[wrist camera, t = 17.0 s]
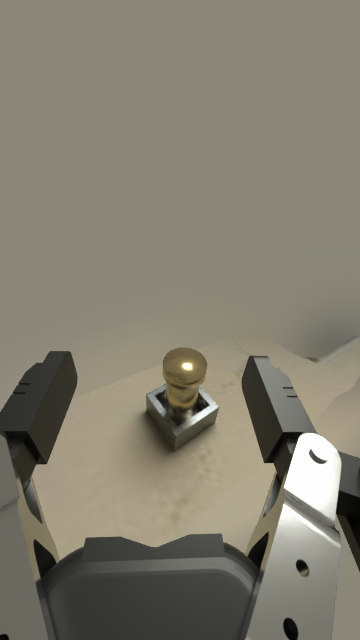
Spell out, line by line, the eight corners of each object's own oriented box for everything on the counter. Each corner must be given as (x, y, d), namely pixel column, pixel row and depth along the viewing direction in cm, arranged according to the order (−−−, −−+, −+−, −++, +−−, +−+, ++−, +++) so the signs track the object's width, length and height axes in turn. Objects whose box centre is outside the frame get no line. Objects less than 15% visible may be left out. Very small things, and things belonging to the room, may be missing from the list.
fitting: (176, 439, 38) (180, 388, 30) (155, 410, 42) (154, 358, 34) (205, 419, 41) (216, 367, 33) (183, 393, 45) (188, 342, 37)
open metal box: (174, 451, 37) (176, 436, 34) (146, 409, 42) (146, 394, 40) (215, 422, 41) (219, 406, 39) (185, 388, 47) (187, 372, 44)
